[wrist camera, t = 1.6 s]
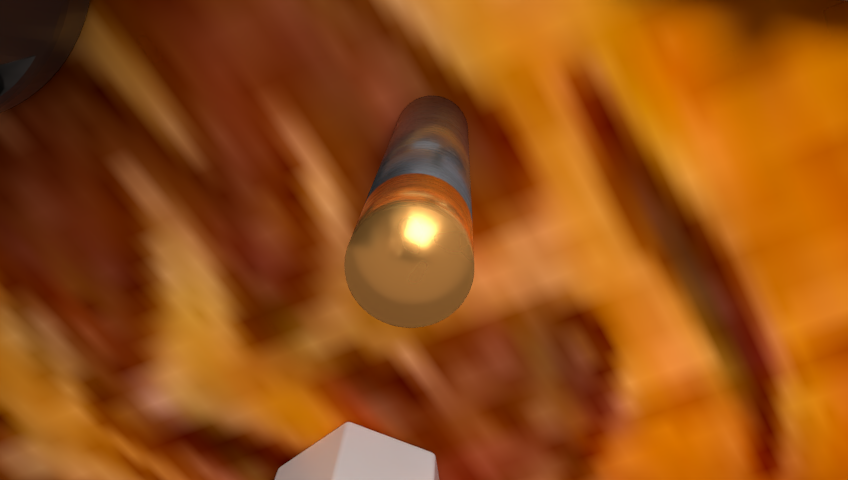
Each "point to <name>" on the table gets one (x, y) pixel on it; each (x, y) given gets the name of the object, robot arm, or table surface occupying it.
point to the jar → (360, 458)
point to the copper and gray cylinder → (417, 221)
